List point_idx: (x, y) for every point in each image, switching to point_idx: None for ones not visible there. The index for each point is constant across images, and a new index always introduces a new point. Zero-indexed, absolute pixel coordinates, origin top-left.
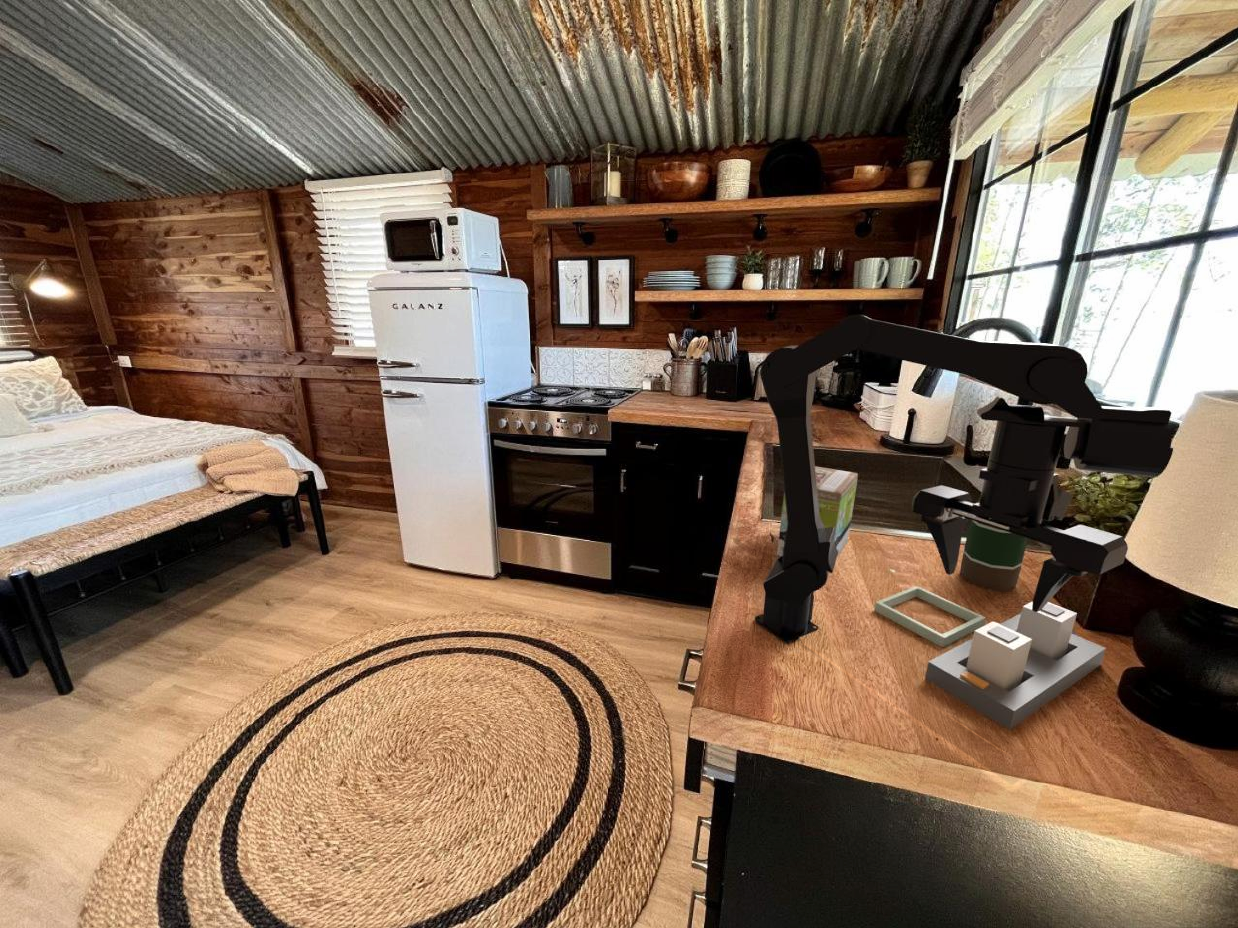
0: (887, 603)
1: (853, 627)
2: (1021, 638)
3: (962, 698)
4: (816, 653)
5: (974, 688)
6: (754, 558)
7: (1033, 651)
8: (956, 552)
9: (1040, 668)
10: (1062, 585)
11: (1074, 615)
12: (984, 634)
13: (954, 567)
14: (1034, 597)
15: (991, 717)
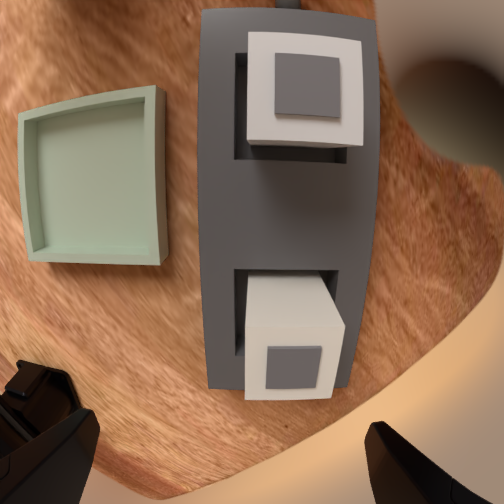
0: (34, 229)
1: (67, 321)
2: (327, 345)
3: None
4: (109, 410)
5: None
6: None
7: (302, 170)
8: (56, 471)
9: (337, 230)
10: (455, 481)
11: (360, 56)
12: (265, 395)
13: (84, 428)
14: (375, 494)
15: None
